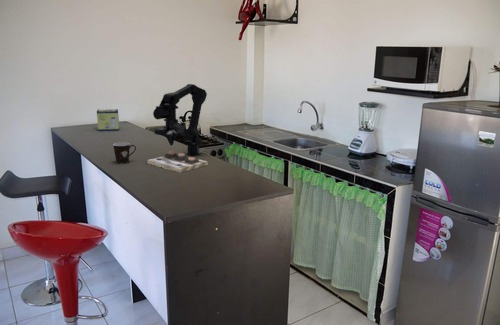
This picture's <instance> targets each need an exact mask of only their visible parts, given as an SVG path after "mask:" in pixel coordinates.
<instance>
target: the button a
mask: <svg viewBox="0 0 500 325" xmlns="http://www.w3.org/2000/svg"><path fill="white" fill-rule="evenodd" d="M175 153H176V152H175V150H168V151H167V154H168V155H175Z"/></svg>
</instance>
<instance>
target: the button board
mask: <svg viewBox="0 0 500 325" xmlns="http://www.w3.org/2000/svg"><path fill="white" fill-rule="evenodd" d="M189 157H190V156H188V155H185V157H183V158H179V157H178V153H176V152H175V155H168V153H165V154H164V155H163V156H159V157H154V158H150V159H147V160H146V164H147V163H148V165H151V164H152V166H154V165H155V167H158V168H161V167H162V169H165V170H168V171H173V172H176V173H179V174H180V173H184V172H188V171H191V170H195V169H199V168H201V167H202V168H203V167H205V166H208V164H209V163H208V161H207V160H203V159H199V158H197V157H194V158H195V160H192V161H191V160H188V158H189Z"/></svg>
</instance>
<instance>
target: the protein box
mask: <svg viewBox="0 0 500 325" xmlns="http://www.w3.org/2000/svg"><path fill="white" fill-rule="evenodd" d="M96 119H97V122H96V123H97V132H119V131H120V120H119V109H97V110H96Z"/></svg>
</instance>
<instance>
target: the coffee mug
mask: <svg viewBox="0 0 500 325" xmlns="http://www.w3.org/2000/svg"><path fill="white" fill-rule="evenodd" d="M112 146H113V151H114V157H115V158H114V159H115V162H117V163H116V164H119V163H124V164H128V163H129V160H130V156H131V155H133V154H134V153H135V151H136V150H137V147H136V145H134V144H130V143H129V142H115V143H113V144H112ZM132 147H134V150H133V151H132V152H131V153H130V149H131V148H132ZM127 162H128V163H127Z"/></svg>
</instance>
